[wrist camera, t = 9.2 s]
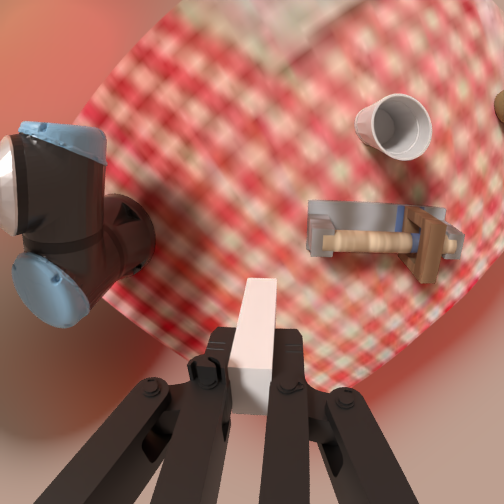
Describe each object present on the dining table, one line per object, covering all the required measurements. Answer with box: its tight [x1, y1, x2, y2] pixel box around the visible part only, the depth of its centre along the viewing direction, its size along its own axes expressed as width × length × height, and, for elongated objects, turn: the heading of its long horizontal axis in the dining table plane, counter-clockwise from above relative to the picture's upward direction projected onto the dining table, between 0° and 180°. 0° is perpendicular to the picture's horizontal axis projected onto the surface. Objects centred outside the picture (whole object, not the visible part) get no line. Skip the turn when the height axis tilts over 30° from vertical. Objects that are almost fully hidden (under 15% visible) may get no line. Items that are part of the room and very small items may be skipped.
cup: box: [354, 94, 432, 161], centre depth 35 cm, size 8×8×12 cm
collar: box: [398, 206, 447, 283], centre depth 40 cm, size 2×8×10 cm, turn 1°
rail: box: [306, 200, 465, 259], centre depth 43 cm, size 24×8×8 cm, turn 91°
